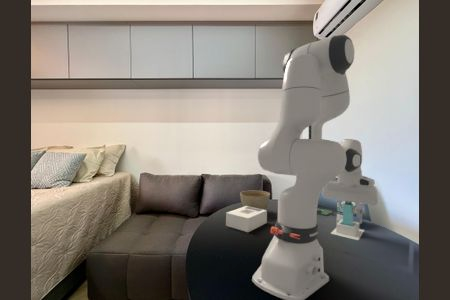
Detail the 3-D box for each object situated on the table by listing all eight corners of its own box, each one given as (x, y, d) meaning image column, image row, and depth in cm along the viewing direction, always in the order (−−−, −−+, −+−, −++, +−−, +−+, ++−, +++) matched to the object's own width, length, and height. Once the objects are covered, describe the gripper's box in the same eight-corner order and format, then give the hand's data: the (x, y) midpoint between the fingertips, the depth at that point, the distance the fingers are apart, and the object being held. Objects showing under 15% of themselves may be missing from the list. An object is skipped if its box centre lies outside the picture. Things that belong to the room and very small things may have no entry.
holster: (358, 244, 88) (358, 231, 88) (330, 237, 94) (330, 224, 94) (364, 233, 99) (364, 221, 99) (338, 227, 105) (339, 216, 105)
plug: (350, 227, 94) (351, 199, 93) (342, 225, 96) (343, 198, 95) (352, 225, 97) (353, 197, 97) (344, 223, 99) (345, 196, 98)
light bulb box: (350, 230, 102) (350, 206, 102) (335, 225, 108) (336, 202, 107) (362, 226, 108) (363, 203, 108) (348, 222, 114) (349, 200, 113)
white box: (247, 232, 98) (248, 217, 98) (226, 225, 106) (226, 212, 106) (266, 222, 110) (266, 209, 110) (245, 217, 118) (246, 205, 118)
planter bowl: (249, 207, 138) (249, 189, 137) (274, 212, 128) (274, 192, 128) (234, 213, 125) (234, 193, 124) (261, 219, 115) (261, 197, 115)
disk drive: (298, 214, 127) (327, 220, 117) (298, 209, 127) (327, 214, 117) (306, 210, 135) (333, 215, 125) (306, 205, 135) (333, 210, 125)
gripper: (320, 177, 100) (319, 208, 100) (377, 182, 87) (375, 219, 87) (325, 175, 105) (324, 206, 105) (379, 180, 92) (378, 215, 92)
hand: (348, 212), depth 96 cm, fingers closed on plug, 3 cm apart
